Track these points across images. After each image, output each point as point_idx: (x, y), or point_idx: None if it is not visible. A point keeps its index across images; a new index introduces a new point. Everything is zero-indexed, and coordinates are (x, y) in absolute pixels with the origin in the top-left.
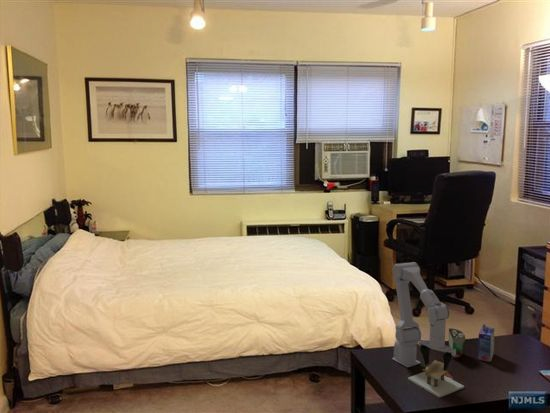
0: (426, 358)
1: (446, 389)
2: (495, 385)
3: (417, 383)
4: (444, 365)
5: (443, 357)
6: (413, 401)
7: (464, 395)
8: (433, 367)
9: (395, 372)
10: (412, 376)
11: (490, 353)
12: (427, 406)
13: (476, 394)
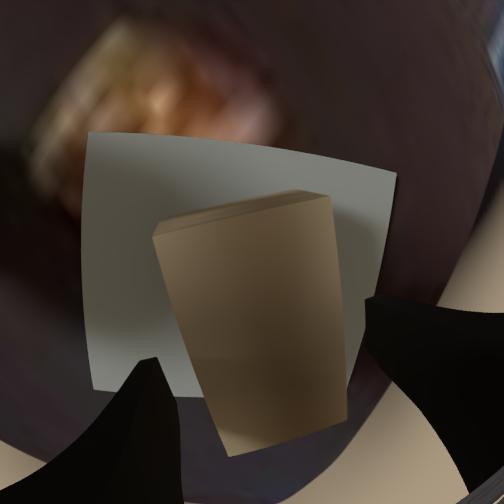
0: (172, 460)
1: (346, 309)
2: (449, 31)
3: (177, 394)
4: (412, 390)
5: (465, 477)
6: (273, 475)
7: (420, 251)
8: (270, 398)
9: (4, 365)
10: (93, 358)
11: None
12: (333, 453)
13: (449, 189)
